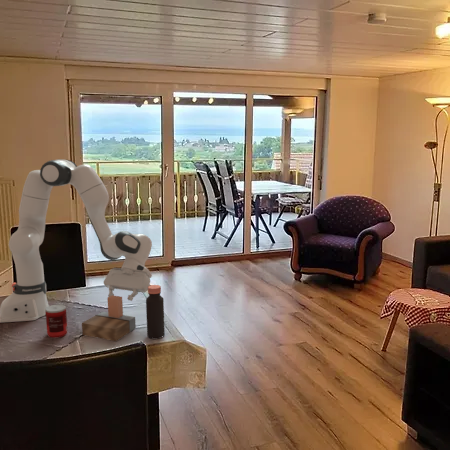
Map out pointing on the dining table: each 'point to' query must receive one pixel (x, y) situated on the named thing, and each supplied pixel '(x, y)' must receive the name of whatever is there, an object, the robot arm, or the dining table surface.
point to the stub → (118, 311)
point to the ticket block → (105, 327)
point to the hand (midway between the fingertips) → (119, 298)
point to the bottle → (155, 312)
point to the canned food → (56, 321)
